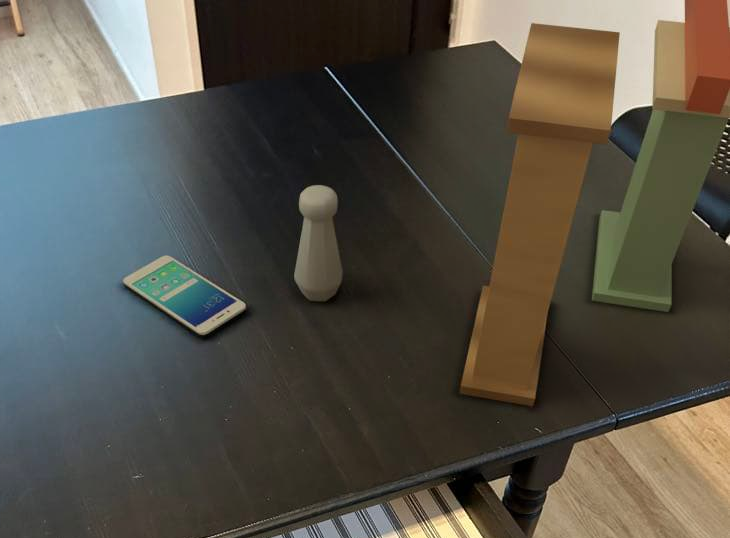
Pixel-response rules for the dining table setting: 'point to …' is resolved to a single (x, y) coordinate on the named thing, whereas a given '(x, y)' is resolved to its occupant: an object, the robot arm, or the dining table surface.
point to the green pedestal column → (658, 187)
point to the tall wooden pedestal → (540, 201)
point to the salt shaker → (318, 245)
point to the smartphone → (185, 296)
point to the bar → (706, 55)
